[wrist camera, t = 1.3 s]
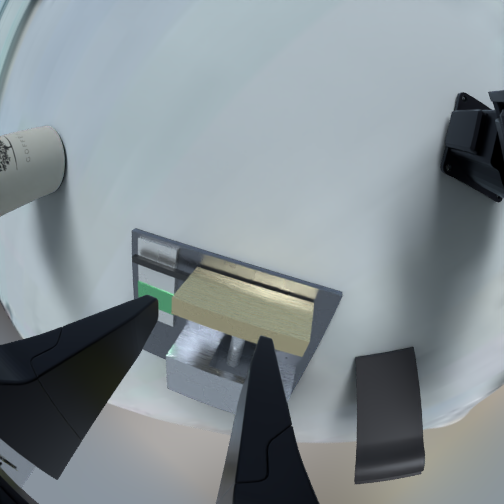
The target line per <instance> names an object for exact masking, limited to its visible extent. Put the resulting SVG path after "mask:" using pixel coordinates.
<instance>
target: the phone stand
mask: <svg viewBox="0 0 504 504" xmlns="http://www.w3.org/2000/svg"><path fill="white" fill-rule="evenodd" d="M356 377H357V449H356V465H355V480H354V481H355V484H364V483H373V482H380V481H387V480H393V479H399V478H404V477H410V476H415V475H419V474H421V471H423V470H424V464H425V451H424V443H423V425H422V409H421V398H420V388H419V380H418V372H417V365H416V358H415V352H414V347H412V348H407V349H402V350H396V351H391V352H385V353H380V354H374V355H367V356H360V357H356Z"/></svg>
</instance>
